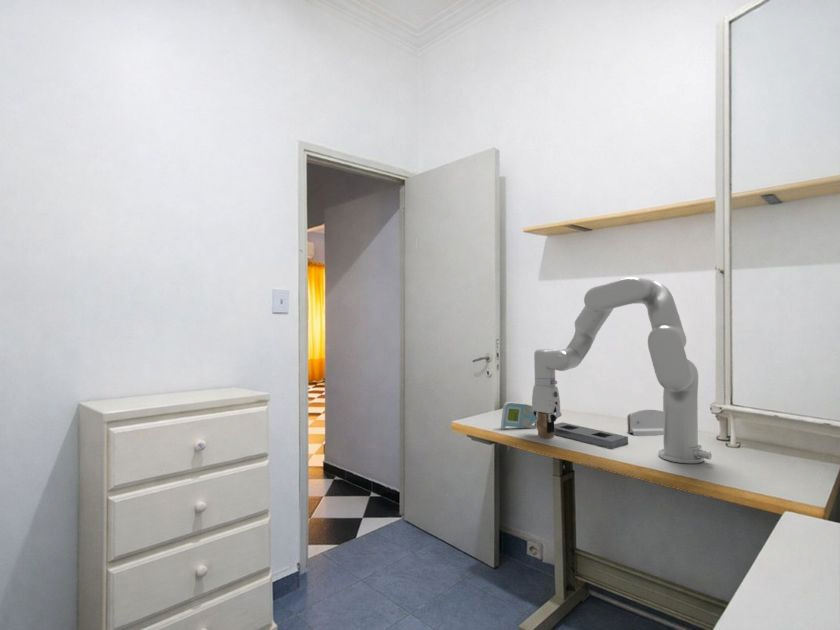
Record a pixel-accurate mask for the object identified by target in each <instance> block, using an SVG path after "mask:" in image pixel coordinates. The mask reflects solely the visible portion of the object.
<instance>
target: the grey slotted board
mask: <svg viewBox="0 0 840 630" xmlns="http://www.w3.org/2000/svg"><path fill="white" fill-rule="evenodd" d="M554 435H555V436H559V437H563V438H567V439H570V440H571V439H572V440H575V441H579V442H583V443H586V444H591V445H595V446H600V447H603V448H608V449H611V450H612V449H615V448H619V447H621V446H625V445H628V444H629V436H626V435H622V434H617V433H613V432H609V431H605V430H599V429H595V428H590V427H587V426H581V425H577V424H572V423H566V422H557V423H554Z"/></svg>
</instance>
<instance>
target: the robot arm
mask: <svg viewBox="0 0 840 630" xmlns="http://www.w3.org/2000/svg"><path fill="white" fill-rule="evenodd" d="M583 301H584V307H583V309H582V310H581V311H580V313H579V314H578V316H577V318H576V319H575V320H574V329H575V331H574V334H573V336H572V339H571V340H570V342H569V343H568V345H567V346H566V348H565V349H559V350H553V349H549V348H548V349H547V348H542V349H541V348H540V349H536V350H535V351H534V357H533V358H534V359H533V360H534V362H533V363H534V367H533V368H534V385H533V389H532V395H531V405H532V407H531V408H530V410H531V411H532V412H533V413H534V415H535V417H536V419H537V428H536V429H537V431H538V412H541V413H546V414H547V415H548V421H549V422H547V432H548V433H551V432H554V424H555V422H556V421H557V419H558V418H560V417H562V411H561V400H560V393H559V389H558V386H556V385H557V384H558V381H557V380H556V371H560V372H562V371H564V372H565V371H568V370H571V369H574V368H578V366H579V365H580V364H581V363H582V361H584V358H585V357H586V356H587V355H588V353H589V351H590V349H591V348H592V346H593V343H594V341H595V339H596V337H597V334H598V332H599V331H600V329H601V328H602V327H603V325H604V324H605V322H606V321H607V319H608V318H609V316H610V315H611V313H612V312H613V310H614V309H616V308H620V307H623V306H627V305H628V306H629V305H633V304H634V305H635V304H636V305H637V304H642V305H644V306H645V307H646V310H647V315H648V319H649V322H650V325H651V330H650V333H649V335H648V337H647V347H648V351H649V355H650V358H651V363H652V366H653V369H654V370H653V371H654V373H655V377H656V380H657V382H658V383H659V385H660V386H661V388H663V395H662V401H663V402H662V406H663V407H662V411H663V433H664V436H663V448H662V449H659V450H658V452H657V453H658V456H659V457H660V459H663V460H665V461H669V462H674V463H677V464H678V463H679V464H700V463H703V462H704V461H705V459H706V460H709V461H710V460H711V459H712V456H713V455H712V452H711V451H707V450H703V448H702V445H700V444H699V435H698V434H699V426H698V425H699V421H698V420H699V419H698V408H699V407H698V404H699V403H698V399H699V398H698V394H699V393H698V391H699V371H698V368H697V367H696V365H695V363H693V361H691V360H690V359H688V358H687V354H686V351H685V347H686V345H687V336H686V333H685V331H684V330H685V329H684V328H683V323H682V320H681V317H680V314H679V312H678V309H677V305H676V303H675V302H676V301H675V300H674V297H673V295H672V292H671V291H670V290H669V288H667V287H666V286H665V285H664V284H663V283H661V282H659V281H655V280H652V279H649V278H648V279H647V278H643V277H636V276H629V277H624V278H621V279H618V280H614V281H611V282H608V283H605V284H601V285H597V286H596V285H595V286H594V287H591V288H590V289H589V290H587V292H586V293H585V295H584V298H583ZM551 415H552V417H551Z"/></svg>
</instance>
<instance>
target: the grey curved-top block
mask: <svg viewBox="0 0 840 630" xmlns="http://www.w3.org/2000/svg"><path fill="white" fill-rule="evenodd" d="M626 418H627V420H626V421H627V422H626V423H627V433H628V434H632V435H633V437H653V436H654V437H656V436H657V437H658V435H664V433H663V410H659V409H658V410H657V409H640V410H637V411H633V412H631V413H629V414H628V415H627V417H626Z"/></svg>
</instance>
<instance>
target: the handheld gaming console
mask: <svg viewBox="0 0 840 630" xmlns="http://www.w3.org/2000/svg"><path fill="white" fill-rule="evenodd" d="M531 407H532V404H528V403H524V402H515V401H506V402H504V404H503V406H502V413H501V414H502V415H501V421H500V429H501V430H502V429H505V428H507V427H511V428H522V429H526V428H528V429H529V428H530V429H537V419H536V417H535V415H534V413H533V412H532V411H531V410H530V408H531Z"/></svg>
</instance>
